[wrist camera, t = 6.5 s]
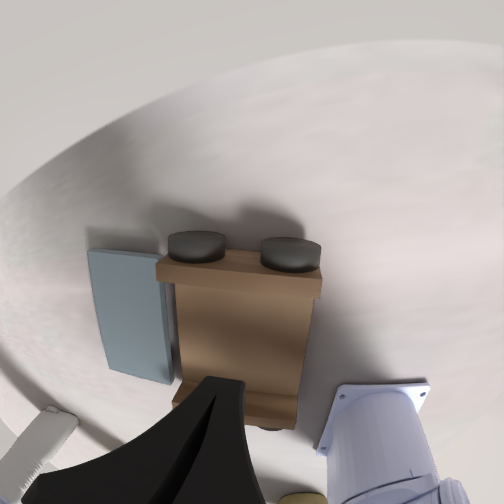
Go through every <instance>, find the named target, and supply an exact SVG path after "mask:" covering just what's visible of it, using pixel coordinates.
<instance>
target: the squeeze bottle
mask: <svg viewBox="0 0 504 504" xmlns="http://www.w3.org/2000/svg"><path fill="white" fill-rule="evenodd" d="M278 504H328V501H327V499H326V497H324V496H322V495H319V494H315V493H297V494H291V495H287V496H285V497H283V498H281V500H280V501H279V503H278Z"/></svg>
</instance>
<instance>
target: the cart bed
mask: <svg viewBox="0 0 504 504" xmlns="http://www.w3.org/2000/svg"><path fill="white" fill-rule="evenodd" d="M168 252H169V254H167V255H166V256H165V257H163V258H162V259H160V260H159V261H158V262H156V263H155V268H156V281H159V282H166V283H174V284H175V294H176V310H177V323H178V335H179V346H180V356H181V365H182V374H183V381H182V383H181V385H180V387H179V389H178V391H177V392H176V394H175V396H174V398H173V400H172V406H173V409H174V408H175V407H176V406H177V405H178V404H179V403H180V402H182V401H183V400H184V399H185V398H186V397H187V396H188V395H189V394H190V393H191V392H192V391H193V390H194V389H195V387H196V386H197V385H198V384H199V383H200V382H201V381H202V380H203V379H204V378H205V377H206V376H214V377H221V378H228V379H235V380H242V381H243V382H245V383H246V385H245V416H244V425H251V426H257V427H259V428H261V429H264V430H268V431H278V430H282V429H291V430H294V428H295V424H296V417H297V395H298V390H299V385H300V380H301V374H302V369H303V364H304V358H305V352H306V346H307V341H308V334H309V328H310V322H311V315H312V309H313V302H314V298H320V292H321V285H322V276H321V271H320V267H319V264H320V255H321V246H320V245H318V244H317V243H314V242H312V241H308V240H304V239H298V238H286V237H279V238H269V239H265V240H263V241H262V242H261V252H257V251H246V250H234V249H225V236H224V235H222V234H219V233H215V232H209V231H186V232H179V233H175V234H172V235H170V236H169V237H168Z"/></svg>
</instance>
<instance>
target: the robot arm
mask: <svg viewBox="0 0 504 504" xmlns="http://www.w3.org/2000/svg"><path fill="white" fill-rule="evenodd" d="M245 385H246V383H245V382H243V381H242V380H235V379H228V378H221V377H214V376H206V377H205V378H204V379H203V380H202V381H201V382H200V383H199V384H198V385H197V386H196V387H195V389H194V390H193V391H192V392H191V393H190V394H189V395H188V396H187V397H186V398H185V399H184V400H183V401H182V402H180V403H179V404H178V405H177V406H176V407H175V408H174V409H173V410H172V411H171V412H170V413H168V414H167V415H166V416H165V417H164V418H162V419H161V420H160V421H159V422H157V423H156V424H155V425H153V426H152V427H151V428H149V429H148V430H147V431H145V432H144V433H142V434H141V435H139V436H138V437H136V438H135V439H133V440H131V441H130V442H128V443H126V444H125V445H123V446H121V447H119V448H117V449H115V450H113V451H111V452H109V453H107V454H105V455H103V456H101V457H98V458H96V459H93V460H90V461H88V462H85V463H82V464H80V465H77V466H73V467H70V468H66V469H62V470H58V471H54V472H49V473H43V474H40V475H39V476H38V477H37V478H36V479H35V480H34V481H33V483H32V484H31V486H30V487H29V488H28V490H27V491H26V492H25V494H24V495H23V497H22V498H21V503H22V504H266V503H265V500H264V498H263V495H262V493H261V490H260V488H259V485H258V482H257V479H256V476H255V473H254V469H253V466H252V462H251V459H250V454H249V450H248V445H247V440H246V435H245V428H244V416H245ZM429 390H430V385H429V383H413V384H391V385H341V386H339V387H338V389H337V392H336V395H335V398H334V401H333V404H332V408H331V411H330V414H329V417H328V420H327V423H326V426H325V429H324V431H323V434H322V437H321V440H320V443H319V445H318V448H317V451H316V455H317V456H327V501H328V504H470V502H469V499H468V497H467V494H466V492H465V490H464V488H463V486H462V484H461V482H460V481H458V480H454V479H453V480H452V479H451V478H446V479H444V480H443V481H441V480H440V479H439V476H438V473H437V469H436V466H435V463H434V460H433V457H432V454H431V450H430V447H429V445H428V442H427V439H426V436H425V433H424V430H423V427H422V425H421V422H420V419H419V416H418V414H417V413H418V411H419V410H420V408H421V406H422V404H423V402H424V400H425V398H426V396H427V394H428V392H429ZM341 395H344V396H341ZM0 504H11V503H9V502H8V501H7V500H6V499H5V498H4V497H3V496H2V495H0Z"/></svg>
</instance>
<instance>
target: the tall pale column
mask: <svg viewBox="0 0 504 504" xmlns="http://www.w3.org/2000/svg"><path fill="white" fill-rule="evenodd" d="M79 423H80V420H79V418H77V417H76V416H75V415H73V414H71V413H68V412H65V411H61V410H58V409H57V408H55V407H54V406H48V407H47V408H46V409H45V410H42V411H41V412H40V413H39V415H38V416H37V417H36V418H35V419H34V420H33V421H32V422H31V423H30V425H29V426H28V427H27V428H26V429H25V430H24V431H23V433H22V434H21V435H20V436H19V437H18V438H17V440H16V441H15V443H14V444H13V446H12V447H11V448H10V450H9V451H8V452H7V453H6V455H5V456H4V457H3V458H2V459H1V460H0V495H2V496H3V497H4V498H5V499H6V500H7V501H8V502H9V503H11V504H20V503H21V498H22V497H23V495H24V492H26V490H27V488H28V487H29V485H30V484H31V482H32V481H33V479H34V478H35V477H36V475H37V474H38V473H39V472H40V471H41V469H42V468H43V466H44V465H46V464H47V463H48V462H49V461H50V460H51V459H52V458H53V456H54V455H55V454H56V453H57V451H58V450H59V449H60V447H61V446H62V445H63V444H64V442H65V441H66V440H67V438H68V437H69V436H70V435H71V433H72V432H73V431H74V429H75V428H76V427H77V426H78V424H79Z"/></svg>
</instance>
